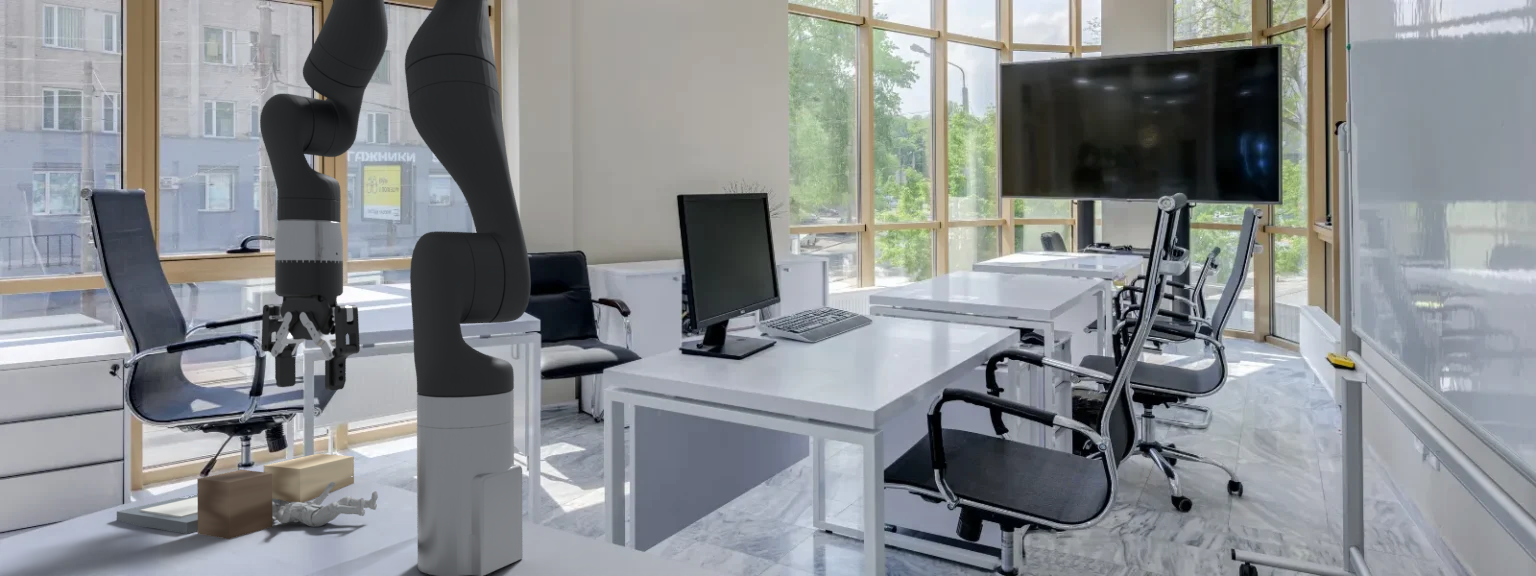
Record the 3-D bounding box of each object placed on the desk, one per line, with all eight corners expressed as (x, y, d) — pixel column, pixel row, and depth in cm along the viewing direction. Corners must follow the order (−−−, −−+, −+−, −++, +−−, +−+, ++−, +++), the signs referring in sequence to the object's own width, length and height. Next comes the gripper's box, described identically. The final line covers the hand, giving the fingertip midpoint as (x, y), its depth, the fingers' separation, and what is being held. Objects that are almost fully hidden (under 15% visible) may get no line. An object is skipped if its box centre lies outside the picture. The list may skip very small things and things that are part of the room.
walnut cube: (272, 527, 97) (272, 473, 97) (229, 539, 92) (229, 482, 92) (241, 522, 99) (241, 469, 99) (197, 534, 94) (197, 478, 94)
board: (279, 509, 104) (279, 497, 104) (186, 533, 94) (186, 520, 94) (211, 500, 109) (211, 488, 109) (116, 522, 99) (116, 509, 99)
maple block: (354, 495, 112) (353, 456, 112) (300, 510, 105) (300, 468, 104) (318, 491, 114) (318, 453, 114) (263, 506, 107) (263, 465, 107)
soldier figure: (345, 507, 93) (243, 488, 94) (341, 551, 93) (239, 532, 95) (387, 486, 101) (291, 469, 102) (383, 527, 101) (288, 509, 103)
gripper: (376, 258, 110) (376, 387, 110) (295, 259, 115) (296, 382, 116) (324, 257, 103) (325, 394, 103) (242, 258, 109) (242, 388, 109)
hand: (309, 388), depth 109 cm, fingers open, 8 cm apart
